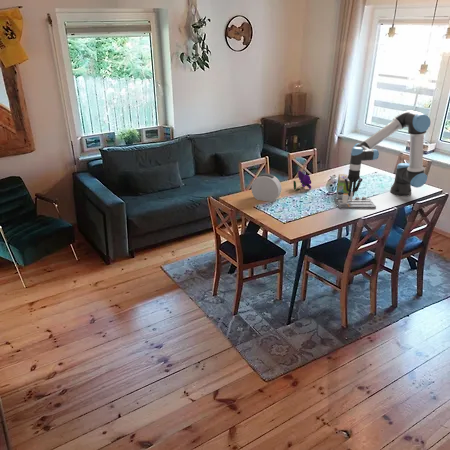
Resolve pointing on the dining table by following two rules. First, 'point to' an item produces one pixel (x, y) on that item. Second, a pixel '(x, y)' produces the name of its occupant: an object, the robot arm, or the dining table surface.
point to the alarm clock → (266, 188)
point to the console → (356, 204)
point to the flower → (303, 181)
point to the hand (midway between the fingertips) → (350, 200)
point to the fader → (345, 198)
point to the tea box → (342, 186)
